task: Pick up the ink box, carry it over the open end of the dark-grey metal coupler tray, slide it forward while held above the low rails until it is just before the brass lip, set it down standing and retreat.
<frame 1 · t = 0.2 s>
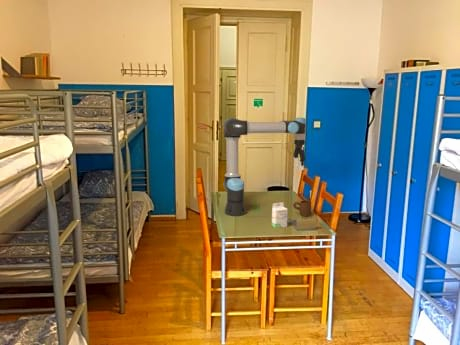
hand: (298, 168, 295), 28 cm above the table, fingers open, 13 cm apart
mug: (301, 215, 276), on the table
bracket: (301, 225, 254), on the table
ink box: (279, 226, 252), on the table
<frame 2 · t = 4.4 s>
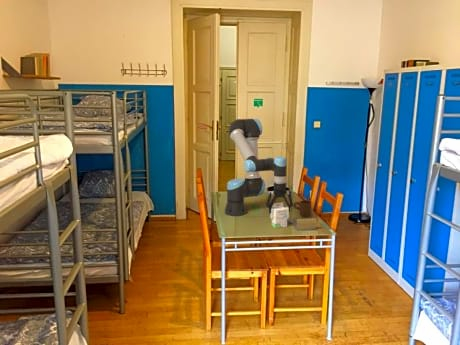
hand: (279, 217, 251), 6 cm above the table, fingers closed on ink box, 9 cm apart
ink box: (279, 226, 252), on the table, touching gripper
everything else where it was.
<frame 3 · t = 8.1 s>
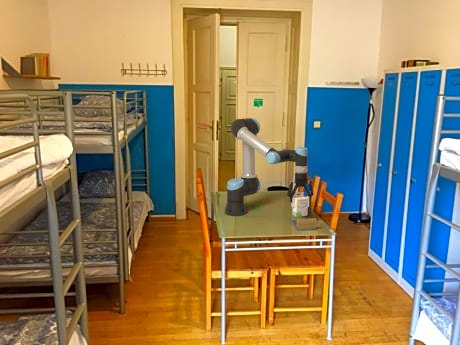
hand: (300, 206, 257), 11 cm above the table, fingers closed on ink box, 9 cm apart
ink box: (300, 215, 258), point 5 cm above the table, touching gripper
everything else where it was.
when the fingers open (7 cm above the table, at t = 11.3 s): ink box stays where it is, resting on bracket.
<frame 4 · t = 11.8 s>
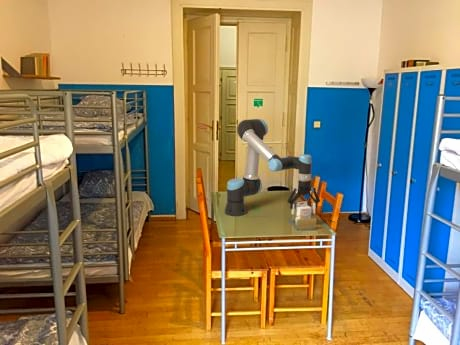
hand: (303, 213, 251), 8 cm above the table, fingers open, 13 cm apart
ink box: (303, 225, 252), point 1 cm above the table, touching bracket
everything else where it was.
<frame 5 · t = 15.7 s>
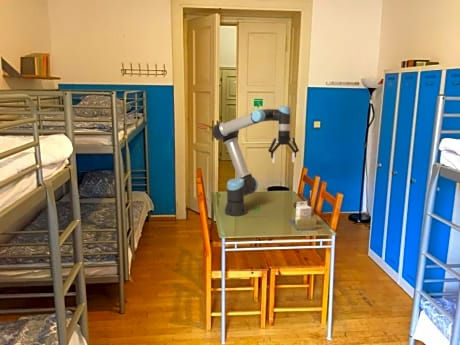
hand: (283, 162, 266), 37 cm above the table, fingers open, 13 cm apart
nothing on the table moved.
at the end: ink box inside the target area on the bracket (0.7 cm from its centre), point 0.6 cm above the bracket's base; ink box tilted 0°; the gripper is holding nothing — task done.
